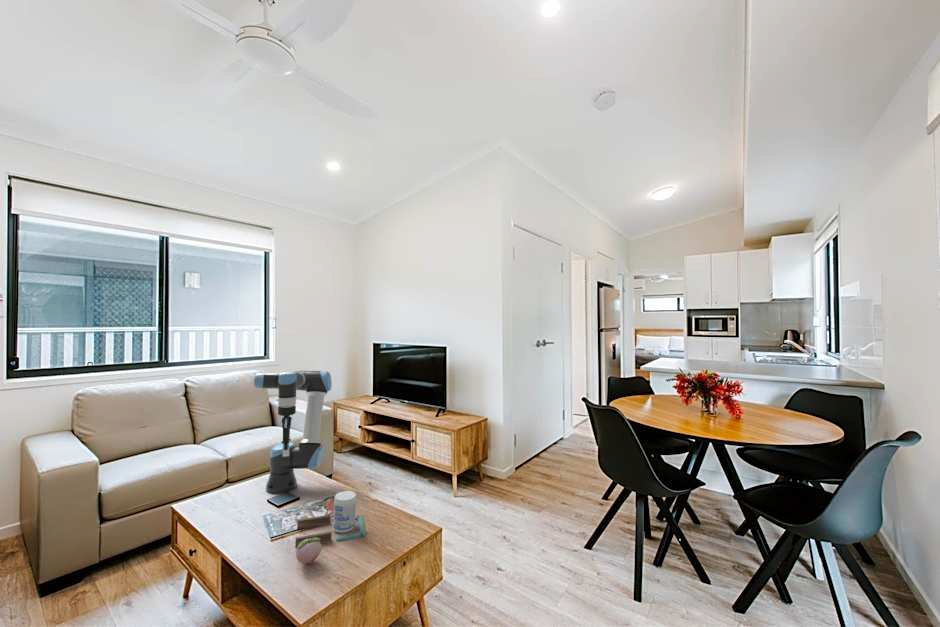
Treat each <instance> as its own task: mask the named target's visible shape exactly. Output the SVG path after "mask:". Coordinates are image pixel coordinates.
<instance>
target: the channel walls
mask: <svg viewBox="0 0 940 627" xmlns="http://www.w3.org/2000/svg"><path fill="white" fill-rule="evenodd" d="M331 518H332V517H331V514H326V515H319V516H311V517H307V518H301V519H297V522H296V523H297V524H296V525H297V526H296V530H300V528H302V529H307V528H312V527H319V526H326V525H330V524H331V521H332V520H331ZM332 534H333V533H332V531H326V532H321V533H314V534H308V535H303V536H296V537H295V544H294V546H295V549H296V548H297V547H298V545H299V544H300V543H301V542H302V541H304V540H306V539H308V538H314V537H317V538H320V539H321V540H319V542H320V544H325V543H331V542H332V537H333V536H332Z"/></svg>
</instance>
